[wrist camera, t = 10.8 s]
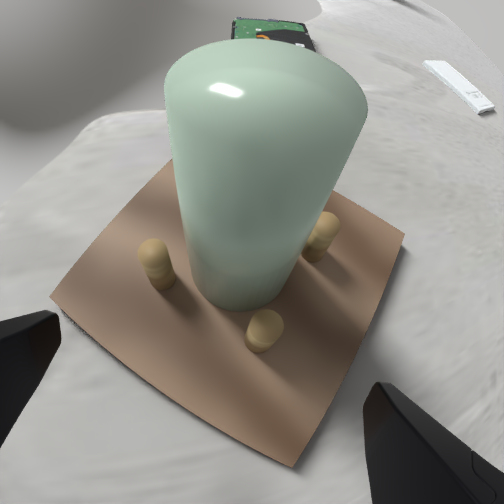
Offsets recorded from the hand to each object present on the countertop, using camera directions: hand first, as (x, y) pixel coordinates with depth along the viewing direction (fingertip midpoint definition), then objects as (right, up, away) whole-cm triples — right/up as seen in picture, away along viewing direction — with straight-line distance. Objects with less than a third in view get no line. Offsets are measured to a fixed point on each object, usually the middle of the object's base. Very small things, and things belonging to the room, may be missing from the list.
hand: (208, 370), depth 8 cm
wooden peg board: (0, +2, +13) cm, 13 cm away
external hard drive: (+36, +30, +32) cm, 57 cm away
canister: (0, +2, +12) cm, 12 cm away
